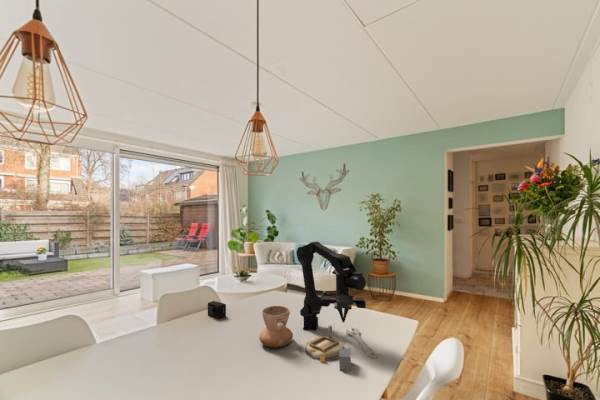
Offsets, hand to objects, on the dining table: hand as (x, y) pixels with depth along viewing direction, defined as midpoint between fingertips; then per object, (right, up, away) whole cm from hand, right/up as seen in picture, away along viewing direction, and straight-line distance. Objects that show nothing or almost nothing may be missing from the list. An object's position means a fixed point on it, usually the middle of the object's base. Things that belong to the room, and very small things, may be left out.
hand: (343, 322), depth 118 cm
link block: (-2, -9, -17) cm, 19 cm away
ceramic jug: (-29, -10, +2) cm, 31 cm away
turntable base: (-9, -9, -6) cm, 14 cm away
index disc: (-9, -9, -6) cm, 14 cm away
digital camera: (-65, -12, +34) cm, 75 cm away
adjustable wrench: (+7, -10, 0) cm, 12 cm away
